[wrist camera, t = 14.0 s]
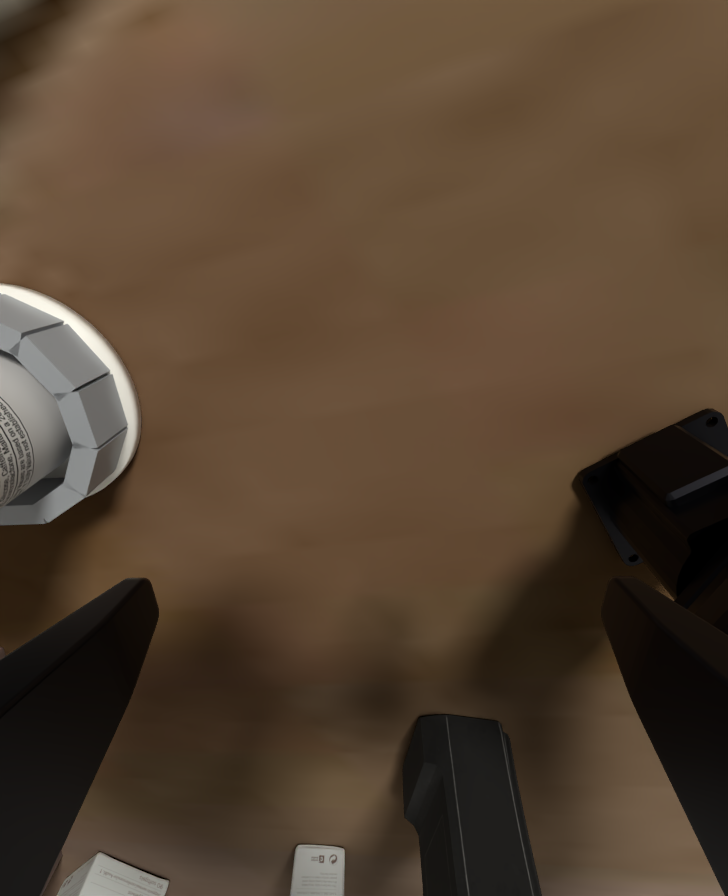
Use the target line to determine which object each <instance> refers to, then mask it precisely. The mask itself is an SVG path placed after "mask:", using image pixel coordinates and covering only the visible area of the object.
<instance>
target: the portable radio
mask: <svg viewBox="0 0 728 896" xmlns="http://www.w3.org/2000/svg"><path fill="white" fill-rule="evenodd" d="M403 796H404V817H405V818H406V819H407V820H408V821H409V822H410V823H412V824H413V825H414V827H415V829H416V831H417V833H418V835H419V844H420V856H421V869H422V882H423V896H542V894H541V890H540V885H539V881H538V876H537V872H536V867H535V863H534V858H533V853H532V849H531V844H530V840H529V835H528V830H527V826H526V821H525V816H524V811H523V806H522V802H521V797H520V792H519V787H518V782H517V777H516V771H515V765H514V760H513V754H512V748H511V743H510V738H509V736H508V734H506V733H505V732H503V730H502V725H501V724H500V723H499V722H498V721H491V720H484V719H476V718H469V717H462V716H454V715H433V716H427V717H421V718H419V719H418V722H417V725H416V728H415V731H414V735H413V738H412V741H411V744H410V747H409V750H408V753H407V756H406V759H405V762H404V765H403Z"/></svg>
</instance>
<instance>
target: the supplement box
mask: <svg viewBox="0 0 728 896" xmlns="http://www.w3.org/2000/svg"><path fill="white" fill-rule="evenodd" d="M168 885H169V880H165V879H161V878H158V877H155V876H153V875H150V874H148V873H145V872H143V871H141V870H138V869H136V868H134V867H131V866H129V865H127V864H124V863H122V862H120V861H117V860H115V859H113V858H111V857H109V856H108V855H106V854H104V853H102V852H98V853H97V854H96V855H94V856H93V857H92V858H91V859H89V860H88V861H87V862H86V863H84V864H83V865H82V866H81V867H79V868H78V869H77V870H76V871H74V872H73V873H72V874H71V875H70V876H68V877H67V878H66V879H65V881H64V882H63V884H62V886H61V888H60V890H59V892H58V894H57V896H165V894H166V891H167V888H168Z"/></svg>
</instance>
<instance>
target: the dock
mask: <svg viewBox="0 0 728 896" xmlns="http://www.w3.org/2000/svg"><path fill="white" fill-rule="evenodd" d="M0 349H1V350H3V351H6V352H8V353H10V354H12V355H14V356H15V357H16V358H17V359H18V360H19V361H20V362H21V364H22V365H23V366H24V367H25V368H26V369H27V370H28V371H29V372H30V373H31V374H32V375H33V376H34V377H35V378H36V379H37V380H38V381H39V382H40V383H41V384H42V385H43V386H44V387H45V388H46V389H47V390H48V391H49V392H50V393H51V394H52V395H53V396H54V397H55V398H56V401H57V404H58V407H59V409H60V412H61V415H62V417H63V420H64V423H65V425H66V428H67V431H68V434H69V436H70V439H71V442H72V444H73V446H72V450H71V454H70V456H69V457H68V458H67V460H66V461H65V462H64V463H62V464H61V465H60V466H58V467H57V468H56V469H54V470H53V471H52V472H50V473H49V474H47V475H46V476H45V477H43V478H42V479H41V480H39V481H38V482H36V483H35V484H34V485H32V486H31V487H30V488H28V489H27V490H25V491H24V492H23V493H21V494H20V495H19V496H17V497H16V498H14V499H13V500H12V501H10V502H9V503H8V504H6V505H5V506H3V507H2V508H1V509H0V525H24V524H45V523H47V522H48V523H49V522H50V521H52V520H53V519H55V518H56V517H57V516H59V515H60V514H62V513H63V512H65V511H66V510H68V509H69V508H71V507H72V506H74V505H75V504H76V503H78V502H79V501H81V500H82V499H84V498H85V497H88V496H90V495H93V494H95V493H97V492H99V491H100V490H102V489H104V488H105V487H106V486H107V485H109V484H110V483H111V482H112V481H114V480H115V479H116V478H117V477H118V476H119V475H120V474H121V473H122V472H123V471H124V470H125V468H126V467H127V466H128V465H129V463H130V462H131V460H132V458H133V457H134V455H135V452H136V450H137V447H138V444H139V440H140V435H141V424H142V419H141V407H140V403H139V398H138V394H137V391H136V388H135V385H134V382H133V380H132V378H131V376H130V374H129V372H128V370H127V368H126V366H125V364H124V362H123V361H122V359H121V358H120V356H119V355H118V353H117V352H116V350H115V349H114V348H113V347H112V345H111V344H110V343H109V342H108V340H107V339H106V338H105V337H104V336H103V335H102V334H101V333H100V332H99V331H98V330H97V329H96V328H95V327H94V326H93V325H92V324H91V323H90V322H88V321H87V320H86V319H85V318H84V317H82V316H81V315H80V314H78V313H77V312H75V311H74V310H72V309H71V308H70V307H68V306H67V305H65V304H63V303H61V302H59V301H58V300H56V299H54V298H52V297H50V296H48V295H45V294H43V293H40V292H38V291H35V290H33V289H29V288H25V287H21V286H18V285H12V284H5V283H0Z"/></svg>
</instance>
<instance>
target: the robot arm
mask: <svg viewBox="0 0 728 896" xmlns="http://www.w3.org/2000/svg"><path fill="white" fill-rule="evenodd" d="M710 417H712V419H711V421H710V422H709V423H707V424H706V421H707V420H708V419H709V418H710ZM591 476H595V477H594V479H592V480H590V481H588V479H589V477H591ZM579 480H580V482H581V484H582V486H583V488H584V490H585V492H586V494H587V495H588V497H589V499H590V501H591V503H592V505H593V507H594V509H595V511H596V512H597V514H598V516H599V518H600V520H601V522H602V524H603V526H604V527H605V529H606V531H607V533H608V535H609V537H610V539H611V541H612V542H613V544H614V546H615V548H616V550H617V552H618V554H619V556H620V557H621V559H622V560H623V561H624V563H625V564H626V565H629V566H634V565H637V564H640V563H642V562H644V563H645V564H646V565H647V566H648V568H649V569H650V570H651V571H652V573H653V574H654V575H655V576H656V578H657V579H658V580H659V581H660V583H661V584H662V585H663V586H664V588H665V589H666V590H667V591H668V593H669V594H670V595H671V596H672V597H673V599H674V600H675V601H672V600H671V599H669V598H668V597H666V596H665V595H663V594H661V593H660V592H658V591H657V590H655V589H653V588H652V587H650V586H649V585H647V584H645V583H644V582H642V581H641V580H639V579H637V578H635V577H632V576H615V577H612V578H610V580H609V581H608V584H607V588H606V592H605V596H604V600H603V604H602V608H601V616H602V621H603V624H604V627H605V629H606V632H607V635H608V638H609V640H610V643H611V646H612V649H613V652H614V654H615V657H616V660H617V663H618V665H619V668H620V671H621V674H622V676H623V679H624V682H625V685H626V687H627V690H628V693H629V695H630V698H631V700H632V702H633V705H634V707H635V709H636V711H637V713H638V715H639V718H640V720H641V722H642V724H643V726H644V728H645V730H646V732H647V734H648V736H649V738H650V740H651V743H652V745H653V747H654V749H655V751H656V753H657V755H658V757H659V759H660V761H661V763H662V765H663V768H664V770H665V772H666V774H667V776H668V778H669V780H670V782H671V784H672V786H673V788H674V790H675V793H676V795H677V797H678V799H679V801H680V803H681V805H682V807H683V809H684V811H685V813H686V815H687V818H688V820H689V822H690V824H691V826H692V828H693V830H694V832H695V834H696V836H697V838H698V840H699V842H700V845H701V847H702V849H703V851H704V853H705V855H706V857H707V859H708V861H709V863H710V865H711V867H712V870H713V872H714V874H715V876H716V878H717V880H718V882H719V884H720V886H721V888H722V890H723V892H724V895H725V896H728V427H727V424H726V422H725V419H724V416H723V415H722V413H720V412H718V411H716V410H714V409H705V410H702V411H700V412H698V413H696V414H694V415H692V416H690V417H688V418H686V419H684V420H682V421H680V422H678V423H676V424H674V425H670V426H668V427H666V428H664V429H662V430H660V431H658V432H656V433H654V434H652V435H650V436H648V437H646V438H644V439H642V440H640V441H638V442H636V443H634V444H632V445H630V446H628V447H626V448H624V449H622V450H621V451H620V452H618V453H616V454H614V455H612V456H610V457H608V458H606V459H604V460H602V461H600V462H598V463H596V464H594V465H592V466H590V467H588V468H586V469H584V470H583V471H582V472H581V473H580V476H579ZM633 554H634V555H633ZM631 555H633V556H632V557H629V556H631ZM158 617H159V608H158V605H157V601H156V598H155V594H154V591H153V588H152V584H151V582H150V581H149V579H147V578H127V579H125V580H123V581H121V582H120V583H118V584H117V585H115V586H114V587H112V588H111V589H109V590H107V591H106V592H104V593H103V594H101V595H100V596H98V597H97V598H95V599H94V600H92V601H90V602H89V603H87V604H86V605H84V606H83V607H81V608H80V609H78V610H77V611H75V612H73V613H72V614H70V615H69V616H67V617H66V618H64V619H63V620H61V621H59V622H58V623H56V624H55V625H53V626H52V627H50V628H49V629H47V630H46V631H44V632H42V633H41V634H39V635H38V636H36V637H35V638H33V639H32V640H30V641H29V642H27V643H25V644H24V645H22V646H21V647H19V648H18V649H16V650H15V651H13V652H12V653H10V654H8V655H7V656H5V657H4V658H2V659H1V660H0V896H40V895H41V893H42V891H43V888H44V886H45V884H46V882H47V880H48V877H49V875H50V873H51V871H52V869H53V867H54V864H55V862H56V860H57V858H58V856H59V854H60V851H61V849H62V847H63V845H64V843H65V841H66V838H67V836H68V834H69V832H70V830H71V827H72V825H73V823H74V821H75V819H76V817H77V814H78V812H79V810H80V808H81V806H82V804H83V801H84V799H85V797H86V795H87V793H88V790H89V788H90V786H91V784H92V782H93V780H94V777H95V775H96V773H97V771H98V769H99V767H100V764H101V762H102V760H103V758H104V756H105V754H106V751H107V749H108V747H109V745H110V743H111V740H112V738H113V736H114V734H115V732H116V730H117V727H118V725H119V723H120V721H121V719H122V717H123V714H124V712H125V710H126V708H127V705H128V703H129V701H130V699H131V696H132V694H133V691H134V688H135V686H136V683H137V680H138V677H139V674H140V671H141V668H142V665H143V663H144V660H145V657H146V654H147V651H148V648H149V645H150V642H151V639H152V636H153V634H154V631H155V628H156V625H157V622H158Z"/></svg>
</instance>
